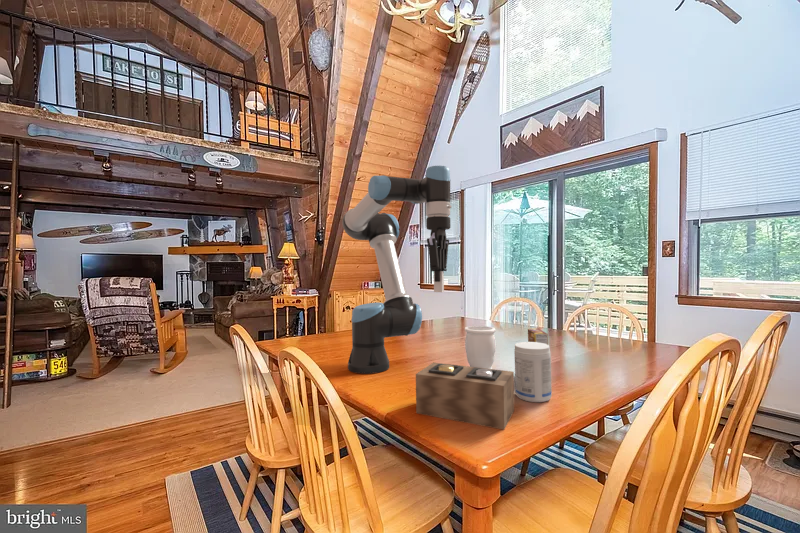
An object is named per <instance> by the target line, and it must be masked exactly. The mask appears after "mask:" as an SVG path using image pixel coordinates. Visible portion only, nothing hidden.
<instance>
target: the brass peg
mask: <svg viewBox="0 0 800 533" xmlns="http://www.w3.org/2000/svg"><path fill="white" fill-rule="evenodd" d="M452 365H453V364H451V365H440V366H439V370H440V371H448V372H453V371H454V366H452Z"/></svg>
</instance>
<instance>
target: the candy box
mask: <svg viewBox="0 0 800 533" xmlns="http://www.w3.org/2000/svg"><path fill="white" fill-rule="evenodd" d="M527 342H539V343H544V344H547V345H549V333H547V332H545V331H544V330H542V329H540V328H527Z"/></svg>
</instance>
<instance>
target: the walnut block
mask: <svg viewBox="0 0 800 533" xmlns="http://www.w3.org/2000/svg"><path fill="white" fill-rule="evenodd" d="M440 365H452V366H454V371H453V372H448V371H440V370H439V366H440ZM479 369H486V368H477V367H470V365H469V366H466V365H458V364H450V363H442V362H432V363H431V364H429V365H428V366H426V367H424V368H423V369H421V370H420V371H418V372H416V373H415V404H416V405H415V406H416V407H415V410H416V411H415V412H416V414H419V415H424V416H430V417H435V418H439V419H441V418H442V419H446V420H450V421H456V422H461V423H467V424H472V425H477V426H482V427H489V428H494V429H499V430H505V429H506V427H507V426H508V423H509V422H510V420H511V418H512V416H513V414H514V412H515V390H514V389H515V386H514V384H515V382H514V381H515V371H512V370H511V371H510V370H501V369H495V368H492V369H488V370H491V371H492V372H493V376H492V377H488V376H480V375H476V370H479Z"/></svg>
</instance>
